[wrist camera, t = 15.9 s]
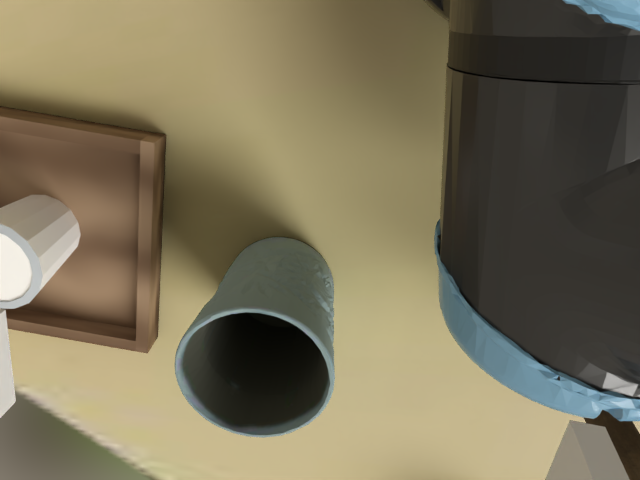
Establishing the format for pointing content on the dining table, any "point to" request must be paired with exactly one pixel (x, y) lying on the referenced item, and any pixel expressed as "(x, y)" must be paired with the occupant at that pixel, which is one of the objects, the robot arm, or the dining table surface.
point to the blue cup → (263, 342)
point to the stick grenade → (622, 441)
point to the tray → (92, 225)
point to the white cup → (33, 246)
